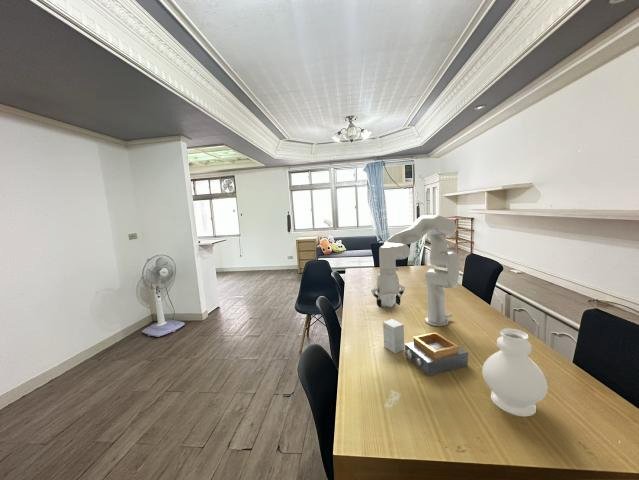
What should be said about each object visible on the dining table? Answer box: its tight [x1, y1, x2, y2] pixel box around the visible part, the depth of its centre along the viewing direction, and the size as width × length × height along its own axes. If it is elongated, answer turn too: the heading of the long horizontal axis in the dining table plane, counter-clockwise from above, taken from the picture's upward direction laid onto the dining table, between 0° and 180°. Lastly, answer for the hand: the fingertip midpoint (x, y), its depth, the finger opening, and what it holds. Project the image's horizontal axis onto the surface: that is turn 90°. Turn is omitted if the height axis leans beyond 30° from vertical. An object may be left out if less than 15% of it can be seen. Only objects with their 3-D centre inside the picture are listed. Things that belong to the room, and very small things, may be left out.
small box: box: [382, 318, 405, 354], centre depth 130 cm, size 8×6×13 cm
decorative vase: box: [481, 328, 548, 417], centre depth 90 cm, size 18×18×25 cm
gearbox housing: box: [404, 331, 469, 377], centre depth 117 cm, size 21×16×9 cm
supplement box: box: [380, 294, 396, 308], centre depth 187 cm, size 10×9×17 cm
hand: (388, 305), depth 129 cm, fingers open, 9 cm apart
